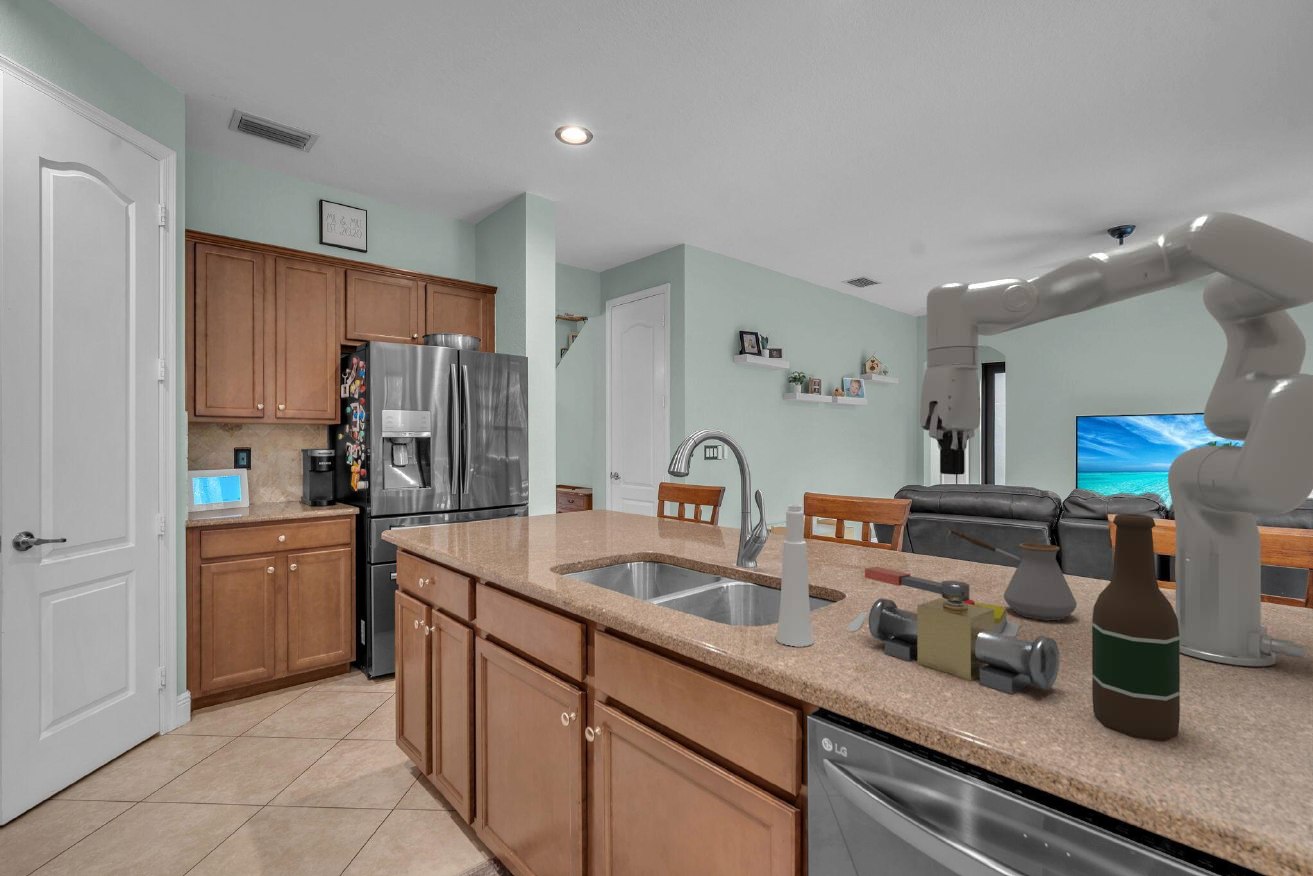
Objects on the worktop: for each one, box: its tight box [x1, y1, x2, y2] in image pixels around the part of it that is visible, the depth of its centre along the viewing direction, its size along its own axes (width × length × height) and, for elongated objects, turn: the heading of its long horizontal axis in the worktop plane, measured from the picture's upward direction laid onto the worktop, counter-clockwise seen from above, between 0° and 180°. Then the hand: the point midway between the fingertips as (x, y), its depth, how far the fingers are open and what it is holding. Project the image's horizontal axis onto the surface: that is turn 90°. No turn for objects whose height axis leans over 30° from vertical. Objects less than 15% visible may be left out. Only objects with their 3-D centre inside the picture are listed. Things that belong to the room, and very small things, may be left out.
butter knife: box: [845, 611, 868, 633], centre depth 113 cm, size 1×27×3 cm
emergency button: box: [935, 597, 1021, 638], centre depth 106 cm, size 9×4×15 cm
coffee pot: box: [946, 528, 1077, 621], centre depth 113 cm, size 21×12×15 cm, turn 61°
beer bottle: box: [1091, 513, 1181, 742], centre depth 68 cm, size 8×8×24 cm
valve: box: [868, 597, 1060, 695], centre depth 85 cm, size 24×7×10 cm, turn 37°
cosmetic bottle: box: [775, 504, 815, 648], centre depth 96 cm, size 6×6×22 cm
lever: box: [864, 566, 970, 601], centre depth 91 cm, size 4×16×2 cm, turn 31°
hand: (952, 473), depth 97 cm, fingers closed
